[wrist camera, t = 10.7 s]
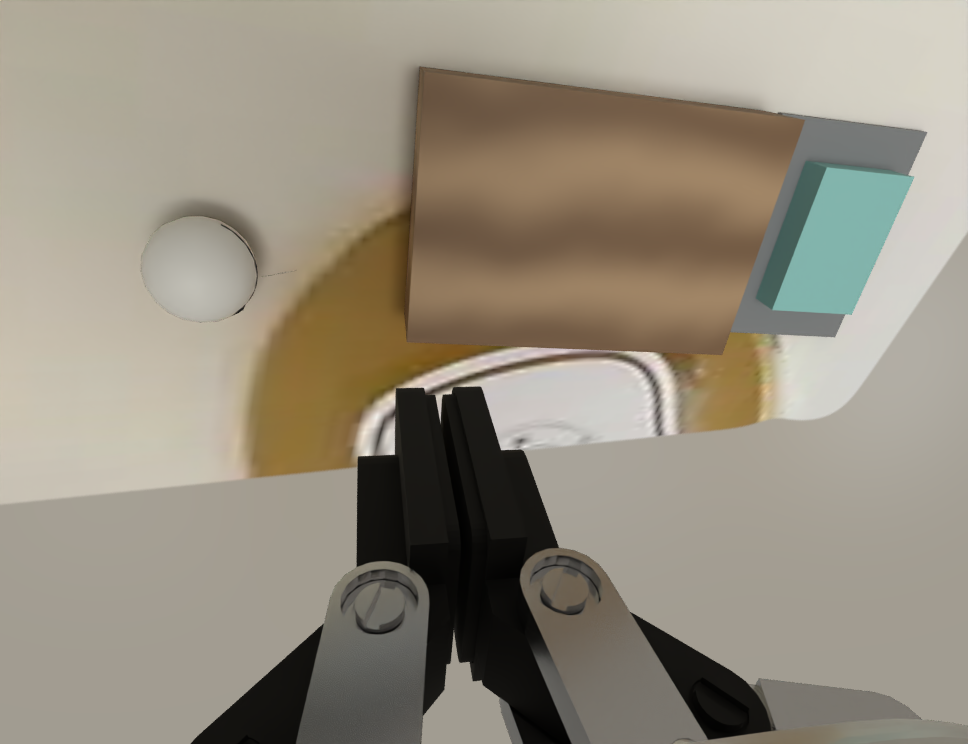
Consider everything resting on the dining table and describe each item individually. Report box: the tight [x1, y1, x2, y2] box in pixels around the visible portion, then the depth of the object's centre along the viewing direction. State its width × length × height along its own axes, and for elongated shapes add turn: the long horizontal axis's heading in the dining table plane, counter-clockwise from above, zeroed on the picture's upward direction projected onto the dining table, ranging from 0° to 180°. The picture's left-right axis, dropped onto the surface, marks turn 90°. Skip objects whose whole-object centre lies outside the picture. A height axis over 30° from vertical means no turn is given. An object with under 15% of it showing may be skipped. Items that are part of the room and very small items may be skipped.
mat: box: [730, 113, 927, 337], centre depth 39 cm, size 14×10×1 cm
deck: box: [404, 67, 805, 355], centre depth 35 cm, size 14×20×4 cm
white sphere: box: [141, 216, 296, 323], centre depth 32 cm, size 8×6×6 cm
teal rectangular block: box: [756, 161, 914, 315], centre depth 38 cm, size 9×6×2 cm, turn 173°
